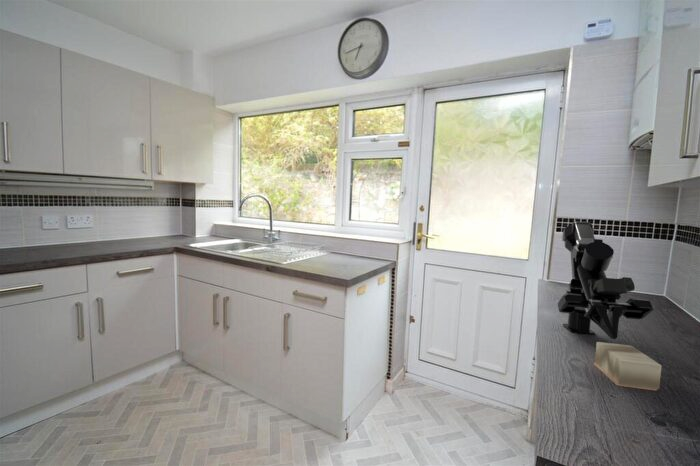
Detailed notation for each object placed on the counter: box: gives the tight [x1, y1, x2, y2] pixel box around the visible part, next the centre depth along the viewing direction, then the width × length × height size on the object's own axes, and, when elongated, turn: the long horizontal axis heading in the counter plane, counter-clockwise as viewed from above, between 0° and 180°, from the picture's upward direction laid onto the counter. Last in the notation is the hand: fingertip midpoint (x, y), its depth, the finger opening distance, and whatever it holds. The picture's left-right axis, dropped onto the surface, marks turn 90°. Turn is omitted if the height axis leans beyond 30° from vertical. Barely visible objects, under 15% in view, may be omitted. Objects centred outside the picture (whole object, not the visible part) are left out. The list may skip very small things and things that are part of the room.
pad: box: [593, 362, 658, 392], centre depth 71 cm, size 10×7×1 cm
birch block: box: [594, 341, 662, 390], centre depth 71 cm, size 5×7×10 cm
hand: (614, 338), depth 75 cm, fingers closed
